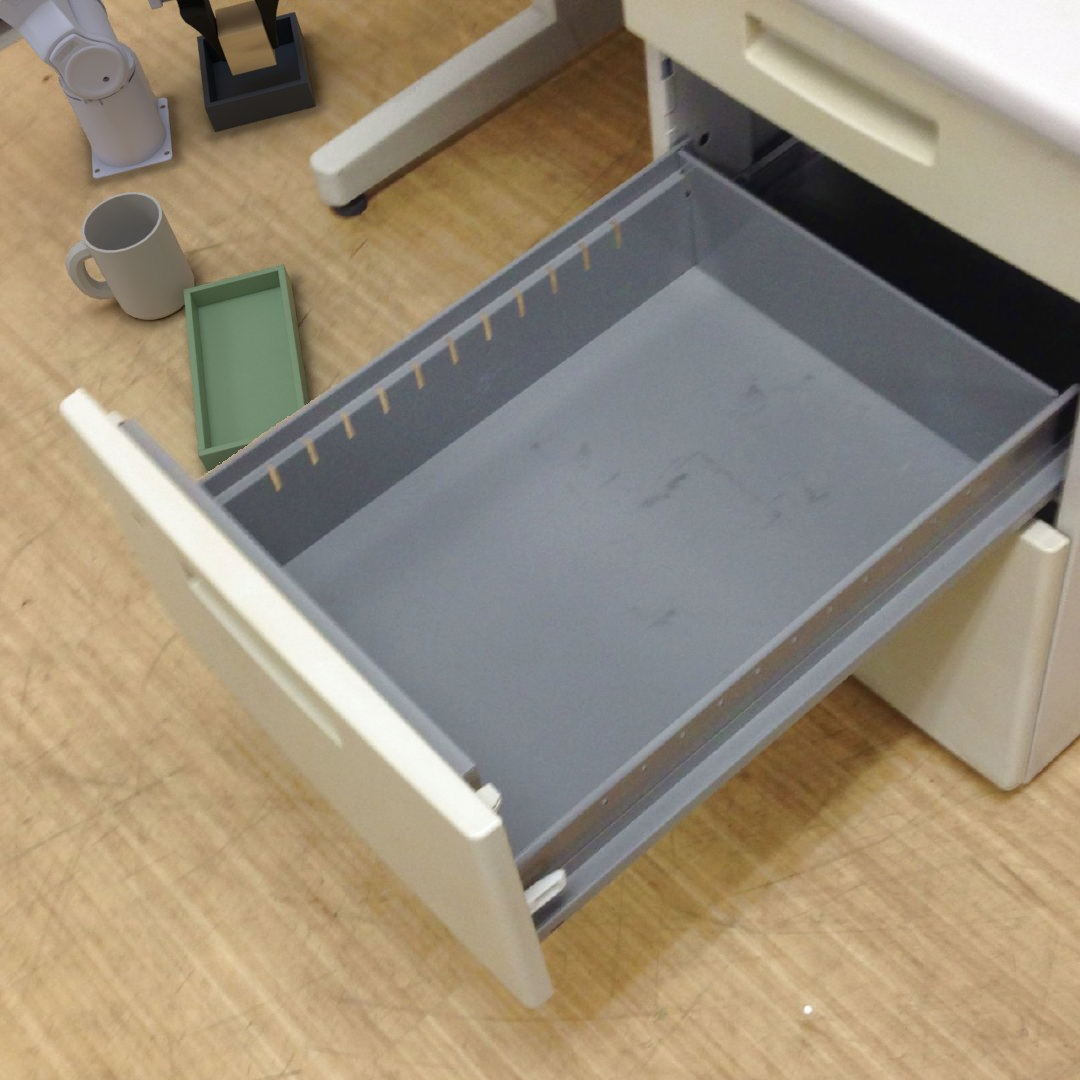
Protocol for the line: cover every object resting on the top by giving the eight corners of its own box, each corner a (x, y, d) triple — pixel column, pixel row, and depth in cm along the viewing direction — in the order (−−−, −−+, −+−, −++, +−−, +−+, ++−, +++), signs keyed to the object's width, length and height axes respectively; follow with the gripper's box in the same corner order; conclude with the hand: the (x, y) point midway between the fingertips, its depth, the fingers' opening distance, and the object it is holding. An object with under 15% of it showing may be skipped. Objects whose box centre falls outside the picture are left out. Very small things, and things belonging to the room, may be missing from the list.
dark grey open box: (207, 64, 155) (196, 36, 152) (304, 40, 155) (294, 11, 152) (216, 135, 149) (204, 108, 146) (317, 110, 149) (307, 81, 146)
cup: (201, 308, 136) (166, 237, 129) (94, 340, 136) (53, 272, 129) (191, 253, 140) (157, 182, 133) (87, 285, 140) (47, 215, 133)
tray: (192, 308, 136) (183, 289, 134) (291, 283, 136) (283, 263, 134) (208, 474, 126) (198, 456, 124) (316, 446, 126) (307, 428, 123)
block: (229, 47, 149) (214, 9, 145) (272, 37, 149) (259, -2, 145) (232, 76, 147) (218, 37, 143) (276, 65, 147) (263, 26, 143)
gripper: (278, -120, 138) (318, 5, 149) (124, -81, 138) (175, 41, 149) (286, -76, 134) (326, 49, 145) (128, -36, 134) (179, 86, 145)
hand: (250, 48), depth 147 cm, fingers closed on block, 4 cm apart
